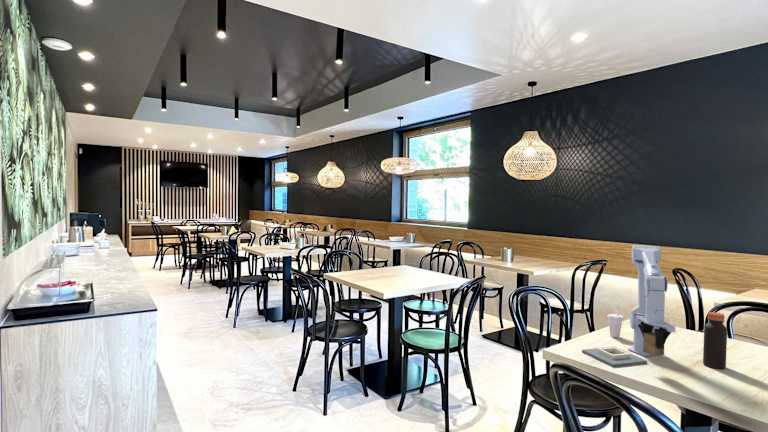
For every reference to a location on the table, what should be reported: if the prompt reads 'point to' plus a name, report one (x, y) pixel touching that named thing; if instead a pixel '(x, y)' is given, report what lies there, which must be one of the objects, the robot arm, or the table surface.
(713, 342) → the bottle
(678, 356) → the table surface
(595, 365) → the table surface
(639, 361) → the holder
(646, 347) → the peg
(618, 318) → the smoothie
